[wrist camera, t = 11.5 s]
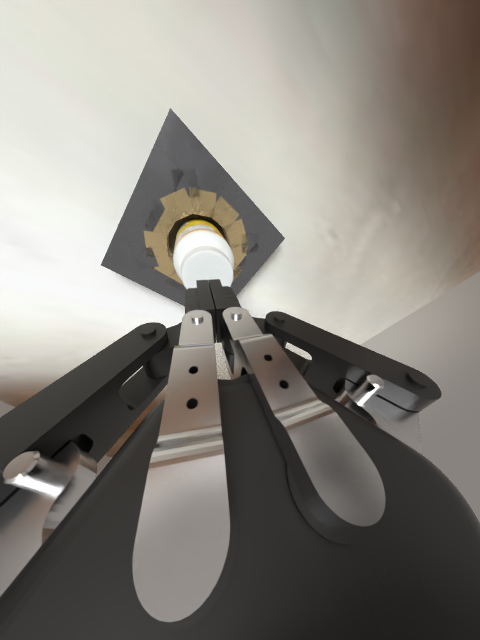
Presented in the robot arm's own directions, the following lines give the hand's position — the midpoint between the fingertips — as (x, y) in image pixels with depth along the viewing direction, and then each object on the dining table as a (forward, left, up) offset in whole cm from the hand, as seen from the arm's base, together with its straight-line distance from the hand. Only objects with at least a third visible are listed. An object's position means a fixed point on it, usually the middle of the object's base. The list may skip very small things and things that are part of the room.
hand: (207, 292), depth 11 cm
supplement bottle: (0, 0, -12) cm, 12 cm away
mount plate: (0, 0, -12) cm, 12 cm away
